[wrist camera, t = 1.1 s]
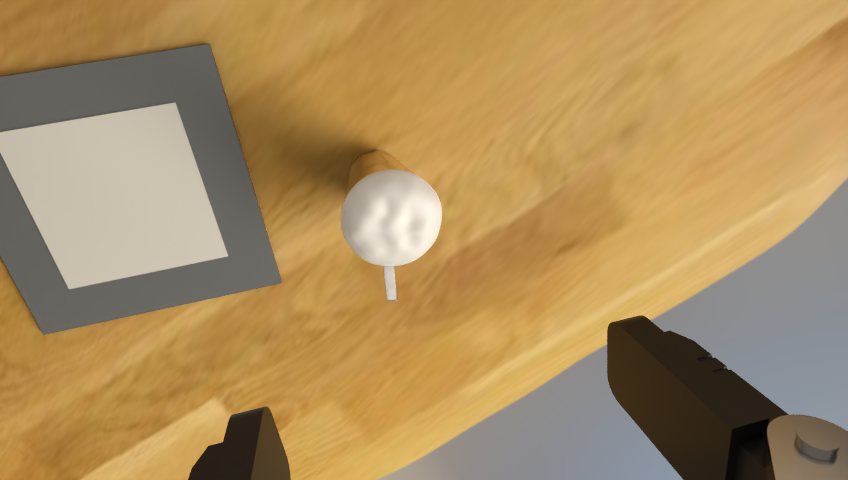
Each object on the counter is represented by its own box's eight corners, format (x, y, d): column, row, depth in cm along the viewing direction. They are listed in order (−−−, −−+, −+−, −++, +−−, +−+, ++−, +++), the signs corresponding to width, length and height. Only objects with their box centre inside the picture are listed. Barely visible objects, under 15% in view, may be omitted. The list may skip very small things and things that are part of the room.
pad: (209, 44, 25) (208, 43, 24) (281, 281, 30) (281, 283, 30) (-86, 90, 23) (-92, 91, 23) (46, 332, 28) (42, 335, 28)
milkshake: (335, 223, 29) (338, 300, 20) (339, 136, 28) (345, 177, 18) (407, 227, 30) (442, 301, 21) (416, 142, 28) (458, 184, 19)
